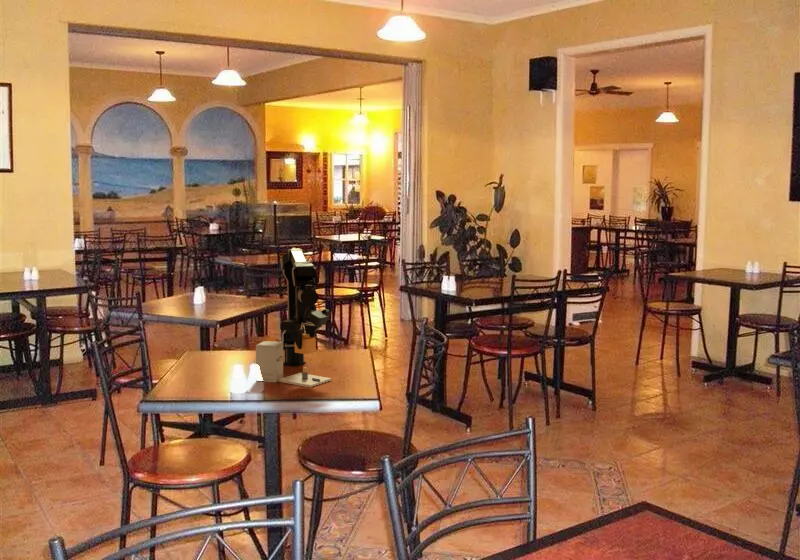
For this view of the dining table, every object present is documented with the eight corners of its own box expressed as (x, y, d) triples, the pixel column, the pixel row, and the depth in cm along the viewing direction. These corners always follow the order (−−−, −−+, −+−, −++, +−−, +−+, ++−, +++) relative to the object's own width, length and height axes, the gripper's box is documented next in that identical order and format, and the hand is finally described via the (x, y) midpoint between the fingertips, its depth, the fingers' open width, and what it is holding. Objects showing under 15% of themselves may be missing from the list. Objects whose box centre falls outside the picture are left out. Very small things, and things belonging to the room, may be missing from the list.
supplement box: (276, 382, 277) (275, 345, 275) (255, 381, 278) (254, 344, 277) (284, 377, 284) (283, 341, 282) (263, 376, 285) (263, 340, 284)
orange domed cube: (294, 352, 277) (294, 334, 276) (304, 349, 281) (304, 332, 280) (306, 354, 274) (305, 336, 273) (315, 351, 278) (315, 334, 278)
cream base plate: (278, 381, 278) (278, 368, 278) (300, 374, 287) (299, 362, 287) (310, 387, 270) (310, 373, 270) (331, 380, 279) (331, 367, 279)
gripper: (304, 307, 263) (305, 355, 265) (340, 300, 279) (341, 345, 281) (278, 304, 269) (279, 351, 271) (315, 297, 285) (315, 341, 287)
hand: (305, 347), depth 277 cm, fingers closed on orange domed cube, 5 cm apart
